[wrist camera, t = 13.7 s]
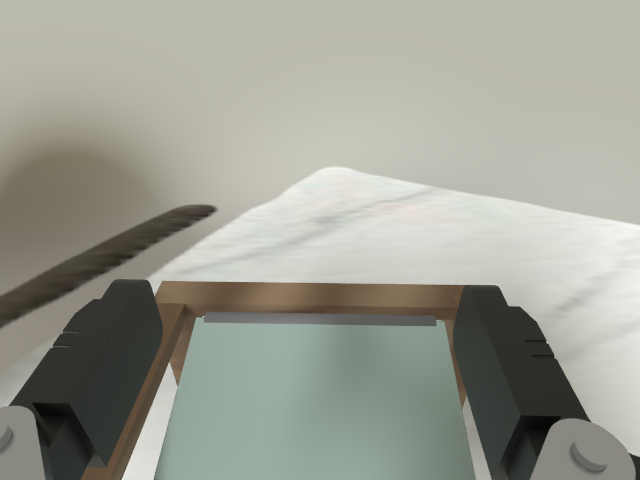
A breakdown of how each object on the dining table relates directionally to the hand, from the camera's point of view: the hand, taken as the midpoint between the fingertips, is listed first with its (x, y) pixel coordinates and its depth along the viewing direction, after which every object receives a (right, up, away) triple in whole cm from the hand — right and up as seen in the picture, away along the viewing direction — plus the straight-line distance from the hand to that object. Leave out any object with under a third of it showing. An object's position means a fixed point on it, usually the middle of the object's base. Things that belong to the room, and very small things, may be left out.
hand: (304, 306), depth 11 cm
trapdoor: (0, -8, +9) cm, 12 cm away
